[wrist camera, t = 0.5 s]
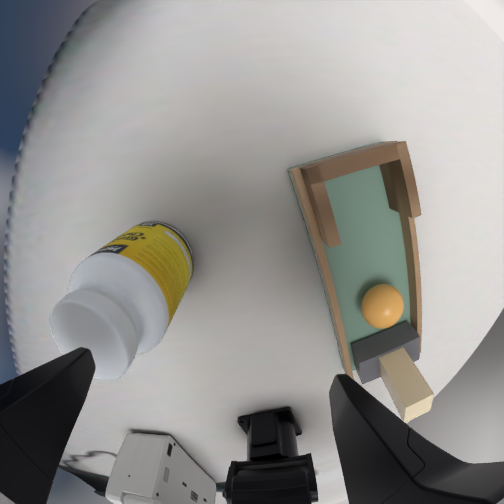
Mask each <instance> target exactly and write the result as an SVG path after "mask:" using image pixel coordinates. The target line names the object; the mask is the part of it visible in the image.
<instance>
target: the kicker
mask: <svg viewBox="0 0 504 504" xmlns="http://www.w3.org/2000/svg"><path fill="white" fill-rule="evenodd" d="M351 349H352V355H353V360H354V366H355V368H356V370H357V373H358V375H359V377H360V380H361V382H362V384H364V383H366V382H369V381H372V380H374V379H376V378H379V377H382V379H383V381H384V383H385V385H386V387H387V389H388V391H389V393H390V395H391V398H392V400H393V402H394V404H395V406H396V408H397V410H398V412H399V414H400V416H401V418H402V421H404V422H405V423H406V422H408V421H410V420H412V419H414V418H416V417H418V416H420V415H422V414H424V413H426V412H428V411H430V409H431V404H432V400H433V395H434V393H433V392H432V390H431V388H430V387H429V385H428V384H427V382H426V381H425V379H424V377H423V376H422V374H421V373H420V371H419V370H418V368H417V367H416V365H415V364H414V361H416V360H419V356H420V335H419V334H418V333H417V332H416V330H415V329H414V328H413V327H412V326H411V324H410V323H409V322H408V321H405V322H403V323H401V324H399V325H397V326H394V327H392V328H390V329H387V330H385V331H383V332H380V333H378V334H375V335H373V336H370V337H368V338H365V339H363V340H360V341H358V342H355V343H352V344H351Z"/></svg>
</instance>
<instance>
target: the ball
mask: <svg viewBox="0 0 504 504" xmlns="http://www.w3.org/2000/svg"><path fill="white" fill-rule="evenodd" d="M403 310H404V301H403V297H402V295H401V293H400V292H399V291H398V290H397V289H396V288H395V287H393V286H391V285H388V284H379V285H376V286H374V287H372V288H370V289H369V290H368V291H367V292H366V294H365V295H364V297H363V300H362V304H361V311H362V315H363V317H364V319H365V321H366V322H367V323H368V324H369V325H371V326H372V327H375V328H379V329H385V328H388V327H391V326H393V325H394V324H395V323H397V322H398V320H399V319H400V318H401V316H402V313H403Z"/></svg>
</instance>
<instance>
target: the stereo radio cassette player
mask: <svg viewBox="0 0 504 504" xmlns="http://www.w3.org/2000/svg"><path fill="white" fill-rule="evenodd" d="M215 496H216V484H215V482H214V481H213V480H212V479H211V478H210V477H209V476H208V475H207V474H206V473H205V472H204V471H203V470H202V469H201V468H200V467H199V466H198V465H197V464H196V463H195V462H194V461H193V460H192V459H191V458H190V457H189V456H188V455H187V454H186V453H185V452H184V450H183V449H182V448H181V447H180V446H179V445H178V444H177V443H176V442H175V440H174V439H173V438H172V437H171V436H170V435H167V436H165V435H154V434H142V433H134V434H127V435H126V437H125V439H124V441H123V443H122V446H121V448H120V450H119V452H118V455H117V457H116V460H115V463H114V466H113V469H112V472H111V475H110V478H109V481H108V485H107V489H106V498H107V499H108V500H109V501H111V502H113V503H114V504H215Z"/></svg>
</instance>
